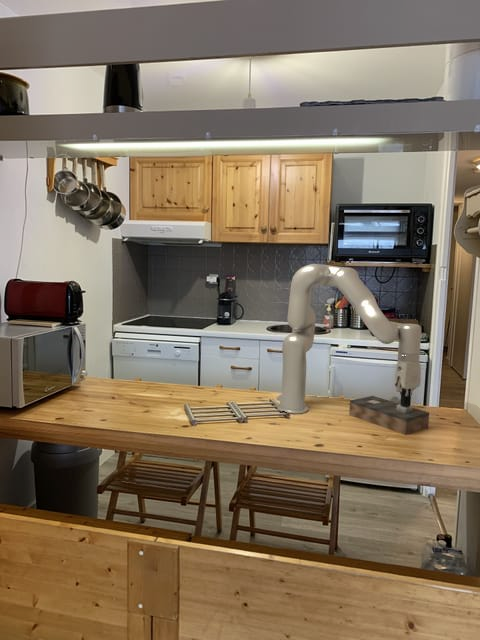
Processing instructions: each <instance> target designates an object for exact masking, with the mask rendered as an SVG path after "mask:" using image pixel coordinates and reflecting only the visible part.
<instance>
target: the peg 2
mask: <svg viewBox="0 0 480 640" xmlns="http://www.w3.org/2000/svg"><path fill="white" fill-rule="evenodd" d="M412 408H413V405H410V406H408V407H405V406H402V405H400V404H399V405H397V408H396V411H399V412H402V413H405V414H407V413H411V412H412Z"/></svg>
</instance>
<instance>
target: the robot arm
mask: <svg viewBox="0 0 480 640" xmlns="http://www.w3.org/2000/svg"><path fill="white" fill-rule="evenodd" d="M315 286H323V287H330V288H331V287H332V288H337V289H338V291H340V293H341V294H342V295H343V296H344V297H345V298H346V300H347V302H349V303H350V305H351V306H352V307H353V309H354V310H355V311H356V313H357V315H358V317H359V318H361V320H362V322H363V323H364V325H365V326H366V328H368V330H369V331H370V333H371V334H372V335H373V336H374V337H375V339H376V340H378V342H380V343H382V344H385V345H389V344H393V343H394V342H395V341H397V342H398V347H397V348H398V350H397V351H398V352H397V363H396V368H395V373H394V386H395V388H396V392H397V393H399V395H400V398H401V402H400V405H402V406H405V407H408V406H411V402H412V401H411V400H412V395H413V392H414V390H416V389H417V388H418V387H420V386H421V379H422V377H421V375H422V372H421V371H422V369H421V361H420V355H421V354H420V353H421V344H422V343H421V341H422V326H421V325H419V324H417V323H400V322H396V321H389V319H388V318H387V316H385V314H384V313H383V311H382V310H381V309H380V307H379V305H378V303H377V300H376V298H375V296H374V294H373V293H372V292H371V290H370V289H369V288H368V287H367V286H366V285H365V284H364V282H363V281H362V279H361V278H360V276H359V272H358V271H357V270H356V269H355V268H352V267H347V266H336V265H329V264H322V263H321V264H320V263H311V264H307V265H305V266H302V267H300V268H299V269H298V270H297V271H296V272H295V273H294V274H293V276H292V280H291V283H290V293H289V299H288V310H287V318H286V319H287V324H288V326H289V327H290V328H291V329H292V331H291V333H290V334H288V335H286V337H284V339H283V341H282V347H281V348H282V349H281V350H282V379H281V394H279V395H278V396H276V400H277V401H279V403H278V404H277V406H276V409H277V410H278V411H280V412H282V411H285V412H287V413H286V414H304V413H307V412H308V411H309V406H307V405H306V404H305V400H306V383H307V382H306V379H307V352H309V351H311V348H312V347H313V345H314V340H315V339H314V338H315V331H316V330H315V328H316V321H317V320H316V313H315V310H314V309H313V308H312V306H311V302H312V301H311V300H312V289H313V288H314V287H315ZM285 412H284V413H285Z"/></svg>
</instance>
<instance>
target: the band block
mask: <svg viewBox="0 0 480 640" xmlns="http://www.w3.org/2000/svg"><path fill="white" fill-rule="evenodd" d="M370 400H375V401H378V402H381V403H377V404H373V403H370V402H366V401H370ZM397 405H399V403H395V402H392V401H390V399H384V398H381V397H378V396H374V395H370V396H365V397H361V398H356V399H350V400H349V413H348V416H351V417H353V418H357V419H360V420H361V421H366V422H367V423H371V424H374V425H377V426H379V427H381V428H385V429H387V430H390V431H393V432H396V433H398V434H399V433H400V434H401V435H405V436H406V435H410V434H413V433H417V432H420V431H423V430H427V429H429V424H430V412H429V411H425V410H422V409H419V408H415V407H412V412H411V413H407V414H405V413H402V412H399V411H396V408H397Z"/></svg>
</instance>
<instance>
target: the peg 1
mask: <svg viewBox="0 0 480 640" xmlns="http://www.w3.org/2000/svg"><path fill="white" fill-rule="evenodd" d="M366 402H370V403H373V404H377V403H381V402H378V401H375V400H370V401H366Z"/></svg>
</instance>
